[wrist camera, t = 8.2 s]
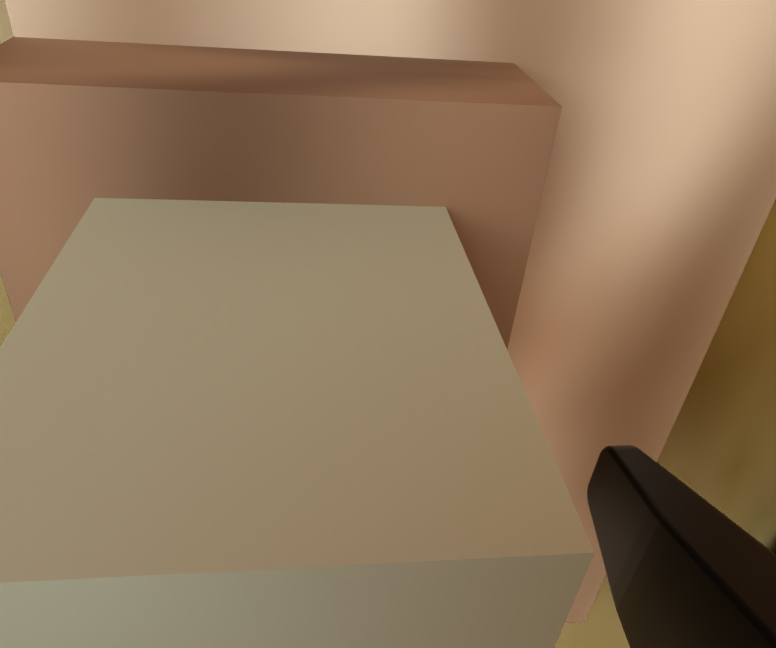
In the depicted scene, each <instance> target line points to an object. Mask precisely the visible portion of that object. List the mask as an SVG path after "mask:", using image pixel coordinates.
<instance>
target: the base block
mask: <svg viewBox="0 0 776 648" xmlns="http://www.w3.org/2000/svg"><path fill="white" fill-rule="evenodd" d="M561 110H562V106H561V105H560V104H559V103H558V102H556V101H555V100H554V99H553V98H552V97H551V96H550V95H549V94H548V93H546V92H545V91H544V90H543V89H542V88H541V87H540V86H539V85H538V84H536V83H535V82H534V81H533V80H532V79H531V78H530V77H529V76H528V75H527V74H525V73H524V72H523V71H522V70H521V69H520V68H519V67H518V66H517V65H515V64H514V63H504V62H485V61H466V60H447V59H428V58H409V57H390V56H371V55H352V54H333V53H313V52H294V51H275V50H256V49H237V48H218V47H199V46H180V45H161V44H142V43H123V42H104V41H85V40H66V39H47V38H28V37H12V38H11V39H9V40H7V41H6V42H4V43H2V44H0V273H1V276H2V279H3V283H4V286H5V289H6V292H7V295H8V298H9V302H10V305H11V308H12V311H13V314H14V317H15V321H17V320H18V318H19V317H20V315H21V313H22V312H23V310H24V309H25V307H26V305H27V304H28V302H29V301H30V299H31V298H32V296H33V294H34V293H35V291H36V290H37V288H38V286H39V285H40V283H41V282H42V280H43V279H44V277H45V275H46V274H47V272H48V271H49V269H50V267H51V266H52V264H53V263H54V261H55V260H56V258H57V256H58V255H59V253H60V252H61V250H62V248H63V247H64V245H65V244H66V242H67V241H68V239H69V237H70V236H71V234H72V233H73V231H74V229H75V228H76V226H77V225H78V223H79V222H80V220H81V218H82V217H83V215H84V214H85V212H86V210H87V209H88V207H89V206H90V204H91V203H92V201H93V199H94V198H125V199H164V200H202V201H241V202H280V203H319V204H358V205H397V206H436V207H446V209H447V211H448V214H449V216H450V218H451V221H452V223H453V225H454V228H455V230H456V232H457V235H458V237H459V239H460V242H461V244H462V246H463V248H464V251H465V253H466V255H467V258H468V260H469V262H470V265H471V267H472V269H473V272H474V274H475V276H476V279H477V281H478V283H479V286H480V288H481V290H482V293H483V295H484V297H485V300H486V302H487V304H488V306H489V309H490V311H491V313H492V316H493V318H494V320H495V323H496V325H497V327H498V330H499V332H500V334H501V337H502V339H503V341H504V344H505V346H506V348H507V349H508V344H509V340H510V336H511V331H512V327H513V322H514V318H515V314H516V309H517V305H518V300H519V296H520V291H521V287H522V283H523V278H524V274H525V269H526V265H527V260H528V256H529V252H530V247H531V243H532V238H533V234H534V229H535V225H536V221H537V216H538V212H539V207H540V203H541V198H542V194H543V190H544V185H545V181H546V176H547V172H548V167H549V163H550V159H551V154H552V150H553V145H554V141H555V137H556V132H557V128H558V123H559V119H560V114H561Z"/></svg>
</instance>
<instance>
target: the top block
mask: <svg viewBox="0 0 776 648" xmlns="http://www.w3.org/2000/svg"><path fill="white" fill-rule="evenodd" d="M594 553H595V552H594V550H593V548H592V545H591V543H590V541H589V538H588V536H587V534H586V531H585V529H584V527H583V525H582V522H581V520H580V518H579V515H578V513H577V511H576V508H575V506H574V504H573V501H572V499H571V497H570V494H569V492H568V490H567V487H566V485H565V483H564V480H563V478H562V476H561V473H560V471H559V469H558V467H557V464H556V462H555V460H554V457H553V455H552V453H551V450H550V448H549V446H548V443H547V441H546V439H545V436H544V434H543V432H542V429H541V427H540V425H539V422H538V420H537V418H536V415H535V413H534V411H533V409H532V406H531V404H530V402H529V399H528V397H527V395H526V392H525V390H524V388H523V385H522V383H521V381H520V378H519V376H518V374H517V371H516V369H515V367H514V364H513V362H512V360H511V357H510V355H509V353H508V351H507V348H506V346H505V344H504V341H503V339H502V337H501V334H500V332H499V330H498V327H497V325H496V323H495V320H494V318H493V316H492V313H491V311H490V309H489V306H488V304H487V302H486V300H485V297H484V295H483V293H482V290H481V288H480V286H479V283H478V281H477V279H476V276H475V274H474V272H473V269H472V267H471V265H470V262H469V260H468V258H467V255H466V253H465V251H464V248H463V246H462V244H461V242H460V239H459V237H458V235H457V232H456V230H455V228H454V225H453V223H452V221H451V218H450V216H449V214H448V211H447V209H446V207H436V206H397V205H358V204H319V203H280V202H241V201H202V200H164V199H125V198H94V199H93V201H92V203H91V204H90V206H89V207H88V209H87V210H86V212H85V214H84V215H83V217H82V218H81V220H80V222H79V223H78V225H77V226H76V228H75V229H74V231H73V233H72V234H71V236H70V237H69V239H68V241H67V242H66V244H65V245H64V247H63V248H62V250H61V252H60V253H59V255H58V256H57V258H56V260H55V261H54V263H53V264H52V266H51V267H50V269H49V271H48V272H47V274H46V275H45V277H44V279H43V280H42V282H41V283H40V285H39V286H38V288H37V290H36V291H35V293H34V294H33V296H32V298H31V299H30V301H29V302H28V304H27V305H26V307H25V309H24V310H23V312H22V313H21V315H20V317H19V318H18V320H17V321H16V323H15V324H14V326H13V328H12V329H11V331H10V332H9V334H8V336H7V337H6V339H5V340H4V342H3V343H2V345H1V347H0V648H554V647H555V644H556V642H557V640H558V637H559V635H560V633H561V630H562V628H563V626H564V623H565V621H566V619H567V616H568V614H569V612H570V609H571V607H572V605H573V602H574V600H575V597H576V595H577V593H578V590H579V588H580V586H581V583H582V581H583V579H584V576H585V574H586V572H587V569H588V567H589V565H590V562H591V560H592V558H593V555H594Z"/></svg>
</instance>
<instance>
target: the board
mask: <svg viewBox="0 0 776 648" xmlns="http://www.w3.org/2000/svg"><path fill="white" fill-rule="evenodd" d="M5 3H6V7H7V11H8V15H9V19H10V23H11V27H12V32H13V36H14V37H28V38H47V39H66V40H85V41H104V42H123V43H142V44H161V45H180V46H199V47H218V48H237V49H256V50H275V51H294V52H313V53H333V54H352V55H371V56H390V57H409V58H428V59H447V60H466V61H485V62H504V63H514V64H515V65H517V66H518V67H519V68H520V69H521V70H522V71H523V72H524V73H525V74H527V75H528V76H529V77H530V78H531V79H532V80H533V81H534V82H535V83H536V84H538V85H539V86H540V87H541V88H542V89H543V90H544V91H545V92H546V93H548V94H549V95H550V96H551V97H552V98H553V99H554V100H555V101H556V102H558V103H559V104H560V105H561V106H562V110H561V114H560V119H559V123H558V128H557V132H556V137H555V141H554V145H553V150H552V154H551V159H550V163H549V167H548V172H547V176H546V181H545V185H544V190H543V194H542V198H541V203H540V207H539V212H538V216H537V221H536V225H535V229H534V234H533V238H532V243H531V247H530V252H529V256H528V260H527V265H526V269H525V274H524V278H523V283H522V287H521V291H520V296H519V300H518V305H517V309H516V314H515V318H514V322H513V327H512V331H511V336H510V340H509V344H508V349H507V351H508V353H509V355H510V357H511V360H512V362H513V364H514V367H515V369H516V371H517V374H518V376H519V378H520V381H521V383H522V385H523V388H524V390H525V392H526V395H527V397H528V399H529V402H530V404H531V406H532V409H533V411H534V413H535V415H536V418H537V420H538V422H539V425H540V427H541V429H542V432H543V434H544V436H545V439H546V441H547V443H548V446H549V448H550V450H551V453H552V455H553V457H554V460H555V462H556V464H557V467H558V469H559V471H560V473H561V476H562V478H563V480H564V483H565V485H566V487H567V490H568V492H569V494H570V497H571V499H572V501H573V504H574V506H575V508H576V511H577V513H578V515H579V518H580V520H581V522H582V525H583V527H584V529H585V531H586V534H587V536H588V538H589V541H590V543H591V545H592V548H593V550H594V552H595V553H594V555H593V558H592V560H591V562H590V565H589V567H588V569H587V572H586V574H585V576H584V579H583V581H582V583H581V586H580V588H579V590H578V593H577V595H576V597H575V600H574V602H573V605H572V607H571V609H570V612H569V614H568V616H567V619H566V621H565V623H575V622H585V621H586V618H587V616H588V614H589V612H590V610H591V607H592V605H593V603H594V601H595V598H596V596H597V594H598V592H599V590H600V587H601V585H602V583H603V581H604V579H605V576H606V570H605V566H604V563H603V559H602V555H601V551H600V547H599V544H598V540H597V536H596V532H595V528H594V525H593V521H592V517H591V513H590V509H589V505H588V501H587V488H588V484H589V481H590V478H591V476H592V473H593V470H594V468H595V465H596V462H597V460H598V457H599V454H600V452H601V450H602V449H603V448H604V447H606V446H615V445H632V446H635V447H637V448H639V449H640V450H642V451H643V452H644V453H645V454H647V455H648V456H649V457H651V458H652V459H653V460H654V461H656V462H657V461H658V459H659V456H660V454H661V452H662V450H663V448H664V445H665V443H666V441H667V439H668V437H669V434H670V432H671V430H672V428H673V425H674V423H675V421H676V419H677V417H678V414H679V412H680V410H681V408H682V405H683V403H684V401H685V399H686V397H687V394H688V392H689V390H690V388H691V385H692V383H693V381H694V379H695V377H696V374H697V372H698V370H699V368H700V366H701V363H702V361H703V359H704V357H705V354H706V352H707V350H708V348H709V346H710V343H711V341H712V339H713V337H714V334H715V332H716V330H717V328H718V326H719V323H720V321H721V319H722V317H723V314H724V312H725V310H726V308H727V306H728V303H729V301H730V299H731V297H732V294H733V292H734V290H735V288H736V286H737V283H738V281H739V279H740V277H741V275H742V272H743V270H744V268H745V266H746V263H747V261H748V259H749V257H750V255H751V252H752V250H753V248H754V246H755V243H756V241H757V239H758V237H759V235H760V232H761V230H762V228H763V226H764V223H765V221H766V219H767V217H768V215H769V212H770V210H771V208H772V206H773V204H774V201H775V199H776V0H5Z"/></svg>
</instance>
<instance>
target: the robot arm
mask: <svg viewBox="0 0 776 648" xmlns="http://www.w3.org/2000/svg"><path fill="white" fill-rule="evenodd" d="M587 501H588V505H589V509H590V513H591V517H592V521H593V525H594V528H595V532H596V536H597V540H598V544H599V547H600V551H601V555H602V559H603V563H604V566H605V570H606V574H607V578H608V582H609V585H610V589H611V593H612V596H613V600H614V603H615V607H616V610H617V613H618V616H619V618H620V621H621V624H622V627H623V630H624V632H625V635H626V638H627V640H628V643H629V646H630V648H776V554H774V553H773V552H772V551H770V550H769V549H768V548H766V547H765V546H764V545H763V544H761V543H760V542H759V541H757V540H756V539H755V538H754V537H752V536H751V535H750V534H748V533H747V532H746V531H745V530H743V529H742V528H741V527H739V526H738V525H737V524H736V523H734V522H733V521H732V520H730V519H729V518H728V517H727V516H725V515H724V514H723V513H721V512H720V511H719V510H718V509H716V508H715V507H714V506H712V505H711V504H710V503H709V502H707V501H706V500H705V499H703V498H702V497H701V496H700V495H698V494H697V493H696V492H694V491H693V490H692V489H691V488H689V487H688V486H687V485H685V484H684V483H683V482H682V481H680V480H679V479H678V478H676V477H675V476H674V475H672V474H671V473H670V472H669V471H667V470H666V469H665V468H663V467H662V466H661V465H660V464H658V463H657V462H656V461H654V460H653V459H652V458H651V457H649V456H648V455H647V454H645V453H644V452H643V451H642V450H640V449H639V448H637V447H635V446H632V445H615V446H606V447H604V448H603V449H602V450H601V452H600V454H599V457H598V460H597V462H596V465H595V468H594V470H593V473H592V476H591V478H590V481H589V484H588V488H587Z"/></svg>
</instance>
